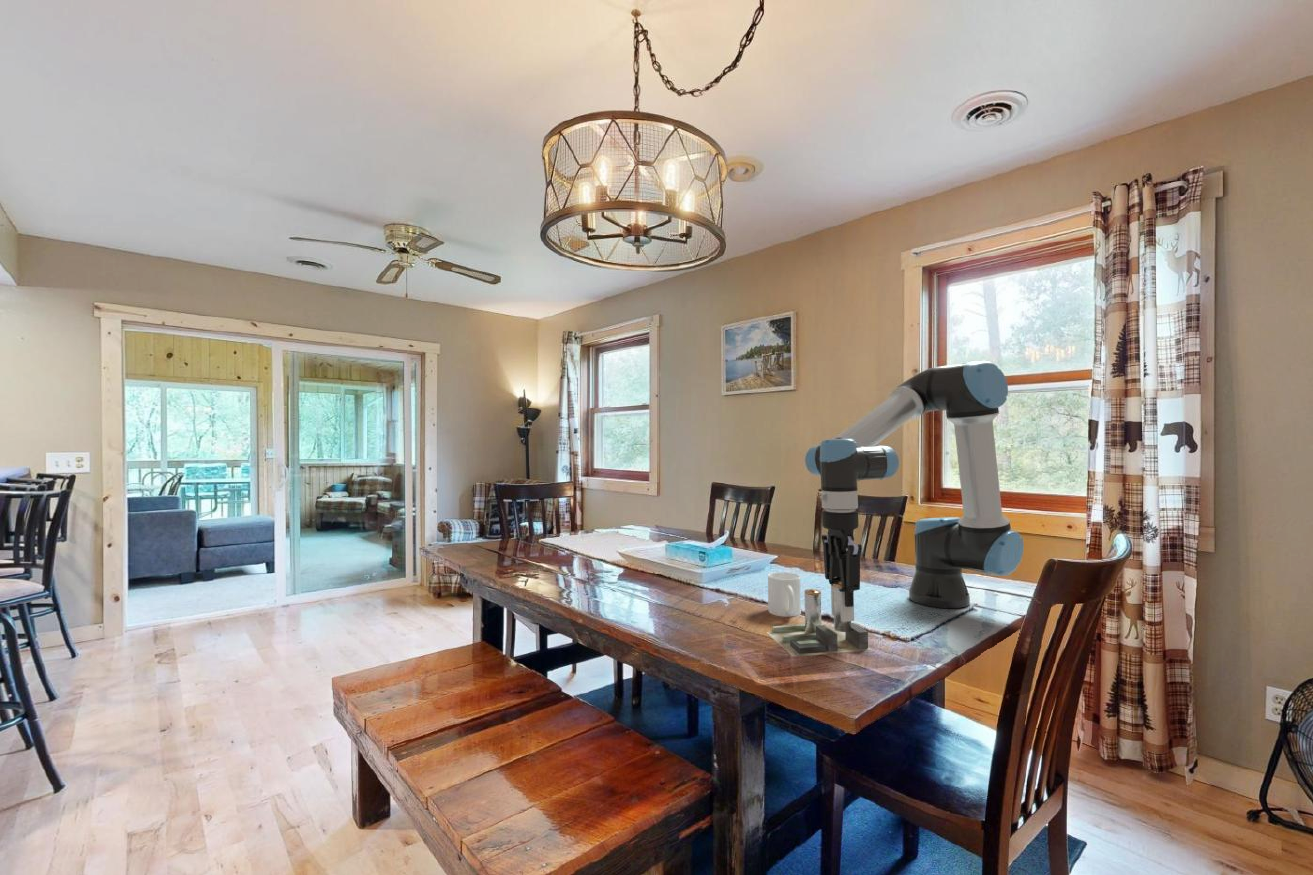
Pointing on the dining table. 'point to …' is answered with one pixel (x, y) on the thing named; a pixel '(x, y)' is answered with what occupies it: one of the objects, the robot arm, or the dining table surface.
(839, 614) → the cylinder
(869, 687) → the dining table surface
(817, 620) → the cell
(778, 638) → the grey battery holder
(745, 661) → the dining table surface
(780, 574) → the mug
